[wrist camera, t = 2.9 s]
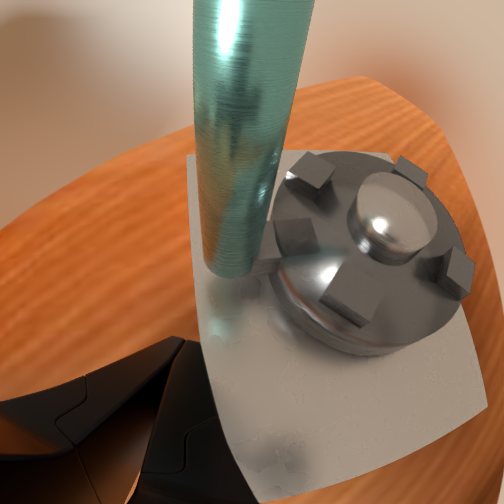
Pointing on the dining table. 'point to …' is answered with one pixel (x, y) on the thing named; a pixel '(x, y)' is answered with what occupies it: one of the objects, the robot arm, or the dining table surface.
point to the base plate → (319, 381)
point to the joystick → (312, 196)
